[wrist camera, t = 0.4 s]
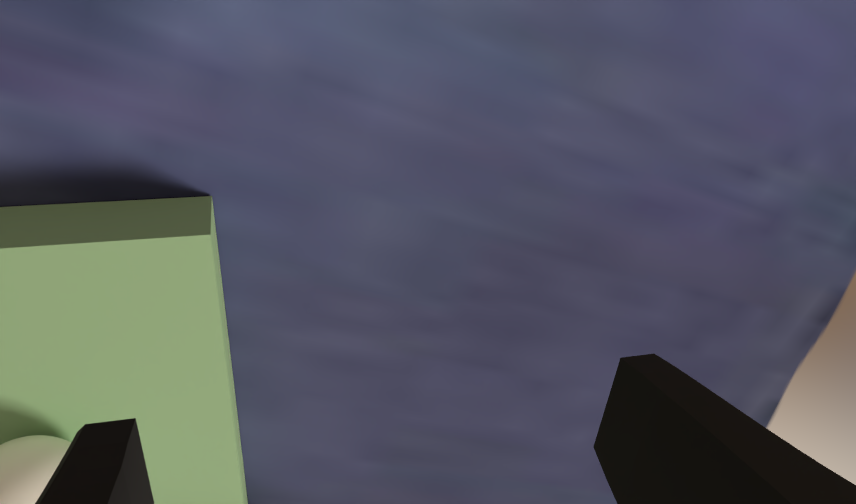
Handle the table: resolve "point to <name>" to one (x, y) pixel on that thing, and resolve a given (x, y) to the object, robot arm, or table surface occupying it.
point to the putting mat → (122, 336)
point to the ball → (28, 467)
